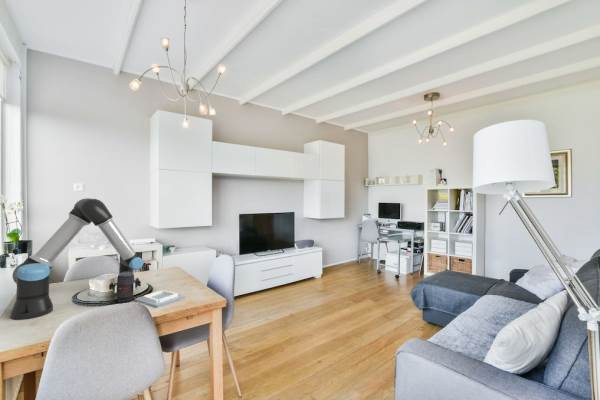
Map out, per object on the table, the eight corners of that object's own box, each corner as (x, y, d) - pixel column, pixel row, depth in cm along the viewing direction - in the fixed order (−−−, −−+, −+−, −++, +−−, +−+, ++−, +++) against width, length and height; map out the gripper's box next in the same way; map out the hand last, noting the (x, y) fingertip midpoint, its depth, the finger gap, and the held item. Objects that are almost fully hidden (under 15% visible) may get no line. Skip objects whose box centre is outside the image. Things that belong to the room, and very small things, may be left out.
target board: (134, 300, 159) (134, 296, 159) (163, 292, 174) (163, 287, 174) (157, 308, 149) (157, 302, 149) (185, 298, 165) (185, 293, 165)
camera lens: (125, 304, 153) (126, 276, 153) (113, 302, 155) (113, 275, 155) (137, 299, 161) (137, 273, 161) (124, 297, 163) (125, 272, 163)
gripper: (144, 282, 179) (146, 293, 159) (105, 287, 168) (101, 299, 148) (145, 271, 179) (146, 280, 159) (105, 274, 168) (102, 284, 148)
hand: (125, 289), depth 154 cm, fingers closed on camera lens, 8 cm apart
